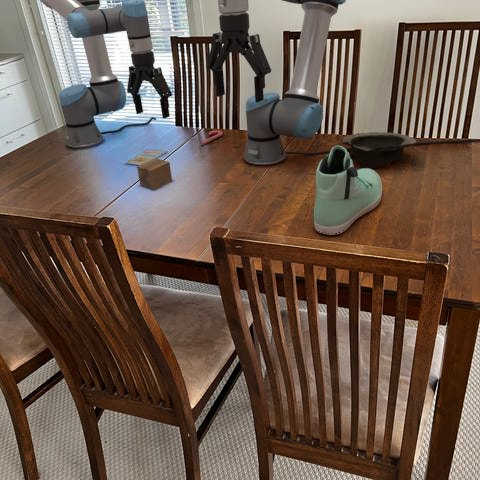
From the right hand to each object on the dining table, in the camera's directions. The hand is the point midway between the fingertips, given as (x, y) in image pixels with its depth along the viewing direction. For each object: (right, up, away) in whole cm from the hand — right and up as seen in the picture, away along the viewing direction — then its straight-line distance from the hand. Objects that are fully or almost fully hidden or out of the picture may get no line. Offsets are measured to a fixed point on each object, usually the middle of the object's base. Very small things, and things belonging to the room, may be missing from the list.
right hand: (239, 98), depth 131 cm
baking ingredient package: (-36, -7, +53) cm, 65 cm away
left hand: (-31, +5, +38) cm, 49 cm away
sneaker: (+32, -30, +8) cm, 44 cm away
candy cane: (-12, +3, +66) cm, 67 cm away
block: (-28, -20, +32) cm, 47 cm away
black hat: (+48, -10, +37) cm, 62 cm away
